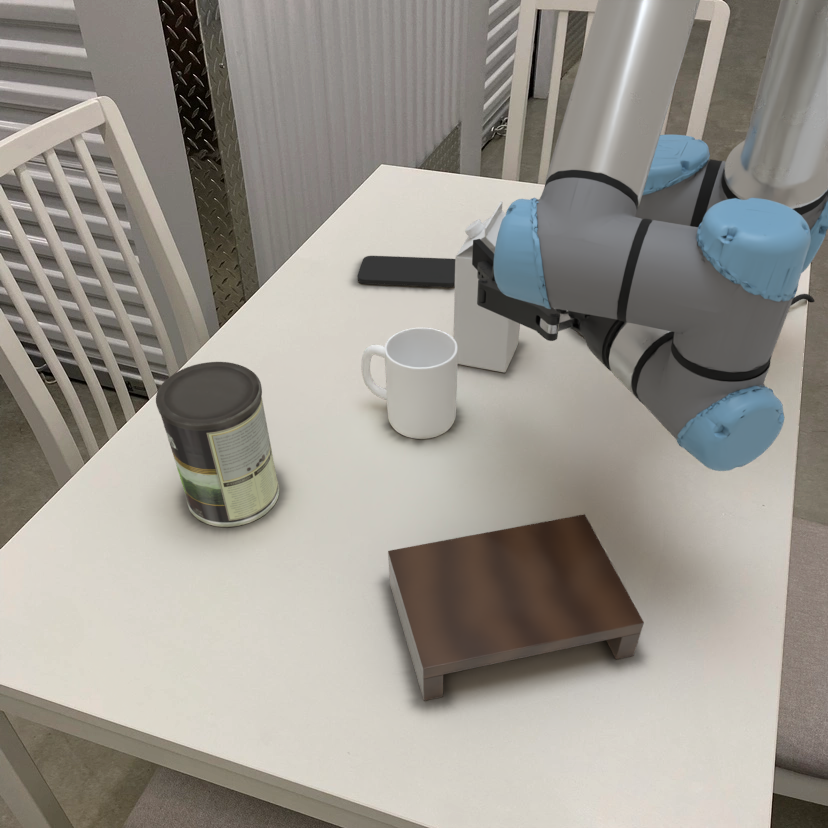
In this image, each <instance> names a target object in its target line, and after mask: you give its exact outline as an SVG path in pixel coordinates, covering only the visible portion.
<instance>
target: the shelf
mask: <svg viewBox="0 0 828 828" xmlns="http://www.w3.org/2000/svg"><path fill="white" fill-rule="evenodd" d="M387 557H388V575H389V586H390V590H391V593H392V596H393V600H394V603H395V607H396V610H397V613H398V617H399V621H400V624H401V628H402V631H403V634H404V638H405V642H406V645H407V648H408V651H409V654H410V660H411V662H412V666H413V669H414V673H415V676H416V679H417V683H418V687H419V690H420V693H421V697H422V700H423V701H429V700H433V699H438V698H442V697H444V675H447V674H452V673H457V672H461V671H467V670H471V669H475V668H481V667H485V666H490V665H495V664H500V663H503V662H504V663H505V662H508V661H513V660H514V661H515V660H519V659H524V658H527V657H532V656H538V655H541V654H546V653H552V652H556V651H561V650H565V649H566V650H567V649H570V648H575V647H580V646H584V645H590V644H594V643H598V642H603V641H606V643H607V645H608V647H609V649H610V650H611V653H612V655H613V657H614V659H615V660H621V659H624V658H629V657H634V656H635V653H636V650H637V646H638V643H639V640H640V637H641V633H642V631H643V627H644V624H645V623H644V620H643V618H642V616H641V615H640V613H639V611H638V609H637V607H636V605H635V604H634V601H633V600H632V598H631V596H630V594H629V593H628V590H627V589H626V587H625V585H624V583H623V581H622V580H621V578H620V576H619V574H618V572H617V571H616V569H615V567H614V565H613V563H612V561H611V560H610V558H609V556H608V554H607V552H606V550H605V549H604V547H603V545H602V542H601V541H600V539H599V538H598V536H597V533H596V532H595V530H594V528H593V526H592V525H591V523H590V520H589V519H588V517H587V515H586V513H583V514H579V515H578V514H577V515H572V516H568V517H562V518H556V519H551V520H546V521H540V522H536V523H535V522H534V523H530V524H525V525H519V526H514V527H508V528H504V529H503V528H502V529H498V530H492V531H487V532H481V533H476V534H471V535H465V536H459V537H455V538H454V537H453V538H448V539H444V540H439V541H432V542H428V543H422V544H417V545H412V546H406V547H402V548H401V547H400V548H396V549H391V550H387Z"/></svg>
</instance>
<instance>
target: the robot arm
mask: <svg viewBox="0 0 828 828" xmlns="http://www.w3.org/2000/svg"><path fill="white" fill-rule="evenodd" d="M700 3H701V0H597V3H596V7H595V10H594V14H593V18H592V20H591V24H590V26H589V30H588V34H587V38H586V41H585V44H584V48H583V51H582V55H581V58H580V61H579V64H578V68H577V72H576V75H575V79H574V81H573V85H572V88H571V92H570V96H569V98H568V99H569V100H568V102H567V105H566V108H565V112H564V116H563V119H562V122H561V126H560V129H559V132H558V136H557V140H556V142H555V147H554V150H553V153H552V156H551V160H550V163H549V167H548V171H547V174H546V177H545V181H544V183H545V184H544V187H543V190H542V192H541V195H540V197H539V198H536V197H533V198H529V199H526V198H518V199H516V200H514V201H513V202H511V203H510V205H509V206H508V207H507V210H506V213H505V214H506V216H505V217H504V218H503V219H502V222H501V225H500V228H499V232H498V236H497V240H496V246H495V253H493V252H492V251H491V250H490V249H489V248H488V247H487V246H486V245H485V244H484V243H483V242H482V241H481V240H480V239H476V240H473V254H472V265H473V266H474V267H475V268H476V269H477V271H478V272H477V277H478V279H479V280H478V292H477V305H479V306H481V307H483V308H485V309H487V310H490V311H492V312H494V313H496V314H499V315H501V316H503V317H506V318H508V319H510V320H512V321H515V322H517V323H519V324H520V325H521V326H524V327H526V328H528V329H531V330H533V331H535V332H536V333H538V334H539V335H540V336H541V337H542V338H544V339H545V340H546V341H549V342H555V341H557V340H558V337H559V332H561V331H565V330H567V329H571V330H572V331H575V332H577V333H578V334H580V335H581V336H582V337H583V339H584V341H585V343H586V345H587V348H588V350H589V351H590V352H591V354H593V356H595V358H597V360H598V361H599V362H600V363H601V364H602V365H603V366H604V367H605V368H606V369H607V370H608V371H610V372H611V373H612V374H613V375H614V376H615V378H617V379H618V381H619V382H620V383H621V384H622V385H623V386H624V387H625V388H626V389H627V390H628V391H629V392H630V393H631V394H632V395H633V396H634V397H635V398H636V399H637V400H638V401H639V402H640V403H641V404H642V405H643V406H644V407H645V408H646V409H647V410H648V411H649V412H650V413H651V414H652V415H653V417H655V419H656V420H657V421H658V422H659V423H660V424H661V425H662V426H663V427H664V428H665V429H666V430H667V432H668V433H669V434H670V435H671V436H672V437H673V438H674V439H675V440H676V443H677V444H678V446H679V447H681V448H682V449H684V450H685V451H686V452H688V453H689V454H690V455H691V456H693V457H694V458H695V459H696V460H697V461H698V462H699V463H701V464H702V465H703V466H704V467H706V468H708V469H710V470H712V471H716V472H717V471H718V472H728V471H729V472H730V471H732V470H734V469H736V468H743V467H744V466H746V465H748V464H750V463H752V462H754V461H755V460H756V459H758V458H759V457H761V456H762V455H763V454H764V453H765V452H766V451H768V449H769V448H770V447H771V446H772V444H773V443H774V442H775V441H776V439H777V438H778V437H779V434H780V432H781V430H782V429H783V427H784V423H785V415H784V407H783V403H782V401H781V400H780V399H779V398H778V397H777V396H776V395H775V394H774V389H772V388H770V387H767V386H766V385H765V380H766V378H767V376H768V373H769V370H770V368H771V363H772V362H771V361H772V356H773V353H774V350H775V348H776V345H777V342H778V340H779V338H780V334H781V332H782V329H783V328H784V327H783V326H784V324H785V321H786V318H787V316H788V313H789V312H790V311H789V310H790V308H791V307H792V306H793V305H794V304H797V303H798V302H800V301H801V300H806V301H807V302H808V303H814V302H815V299H814V298H813V296H812V295H810V294H808V293H801V294H798V295H796V294H797V291H798V288H799V283H800V279H801V275H802V274H803V273H804V272H805V271H806V270H807V269H808V267H809V266H810V264H811V263H812V262H813V260H814V259H815V257H816V255H817V254H818V251H819V250H820V247H821V246H822V244H823V242H824V240H825V239H826V236H827V231H828V0H780V1H779V6H778V10H777V14H776V16H775V21H774V25H773V29H772V32H771V33H772V34H771V37H770V41H769V45H768V48H767V51H766V52H767V53H766V57H765V60H764V64H763V68H762V71H761V76H760V80H759V84H758V88H757V93H756V95H755V98H754V99H755V100H754V104H753V106H752V107H753V108H752V112H751V116H750V120H749V123H748V126H747V131H746V135H745V139H744V140H742V141H741V142H740V143H738V144H737V145H735V147H734V148H732V150H731V151H730V152H729V154H728V155H727V158H726V160H718V159H711V158H710V157H711V153H710V147H709V145H708V144H707V143H706V142H705V141H704V140H702V139H700V138H699V139H696V138H695V137H694V136H691V135H685V134H662V130H663V127H664V124H665V121H666V117H667V114H668V110H669V107H670V103H671V100H672V96H673V93H674V90H675V86H676V84H677V83H676V82H677V80H678V76H679V73H680V69H681V66H682V63H683V60H684V56H685V52H686V50H687V46H688V42H689V39H690V37H691V36H690V35H691V32H692V29H693V25H694V23H695V18H696V16H697V12H698V9H699V6H700Z"/></svg>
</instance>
